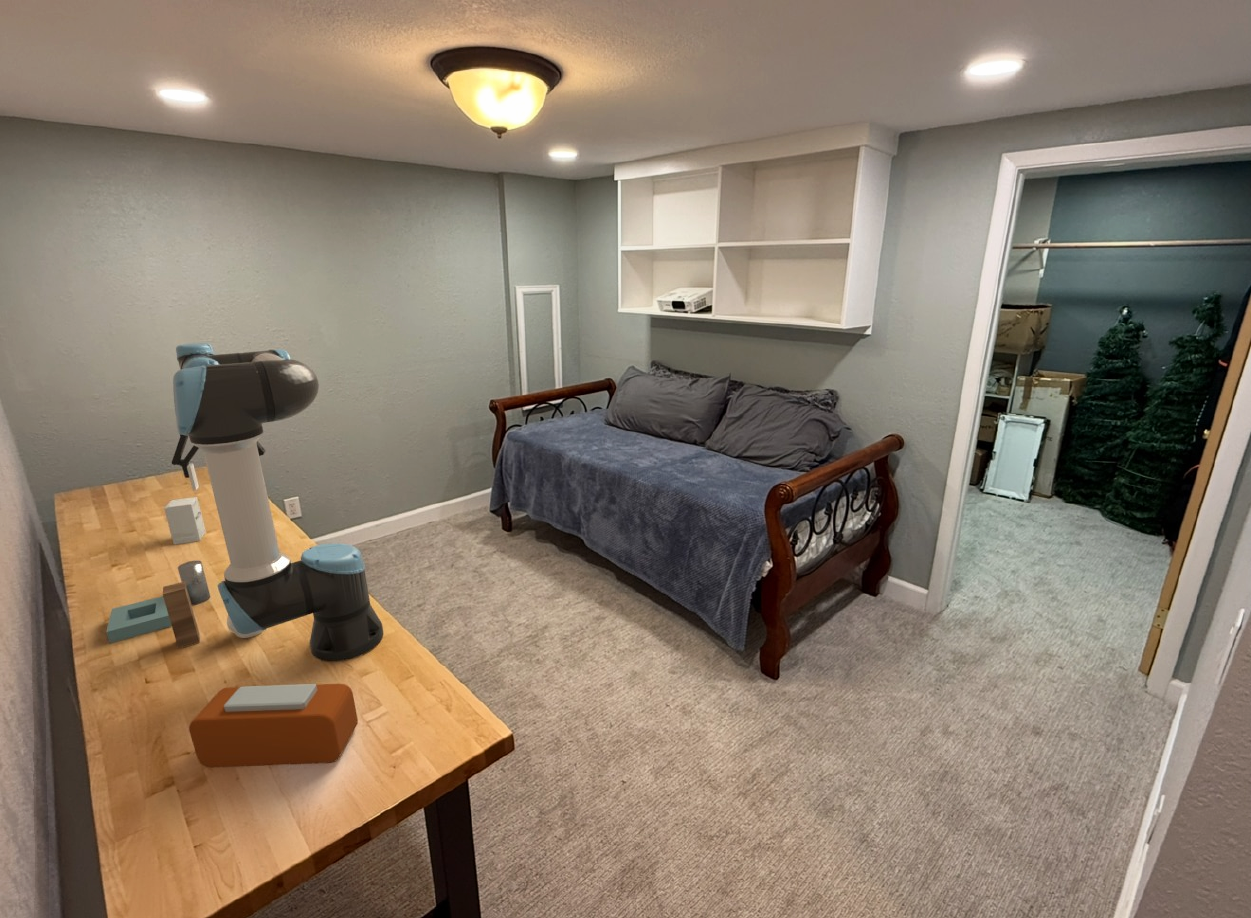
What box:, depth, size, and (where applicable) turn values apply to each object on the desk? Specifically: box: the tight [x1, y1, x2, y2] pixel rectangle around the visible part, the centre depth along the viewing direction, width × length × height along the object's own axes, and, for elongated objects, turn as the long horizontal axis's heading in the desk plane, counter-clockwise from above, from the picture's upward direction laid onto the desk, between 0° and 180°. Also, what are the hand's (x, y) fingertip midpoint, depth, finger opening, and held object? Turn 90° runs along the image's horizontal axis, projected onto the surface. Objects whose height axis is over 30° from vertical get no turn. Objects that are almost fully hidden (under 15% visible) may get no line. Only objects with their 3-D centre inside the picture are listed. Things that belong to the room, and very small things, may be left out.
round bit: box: [177, 560, 211, 606], centre depth 152 cm, size 5×5×10 cm
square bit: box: [162, 582, 201, 649], centre depth 134 cm, size 4×4×14 cm
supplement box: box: [163, 496, 207, 546], centre depth 188 cm, size 7×7×13 cm
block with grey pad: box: [188, 683, 359, 768], centre depth 104 cm, size 24×8×11 cm, turn 92°
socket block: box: [105, 595, 172, 644], centre depth 143 cm, size 12×12×3 cm
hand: (226, 485), depth 155 cm, fingers open, 13 cm apart
